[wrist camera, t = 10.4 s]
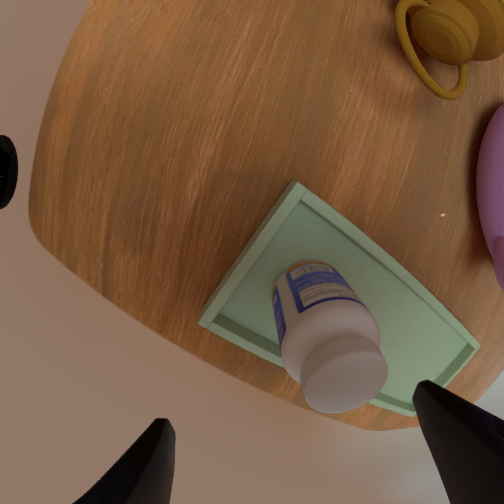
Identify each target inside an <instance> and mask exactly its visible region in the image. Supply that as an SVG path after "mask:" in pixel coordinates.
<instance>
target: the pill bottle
mask: <svg viewBox="0 0 504 504" xmlns="http://www.w3.org/2000/svg"><path fill="white" fill-rule="evenodd" d="M272 306H273V312H274V317H275V323H276V329H277V335H278V341H279V346H280V353H281V358H282V361H283V365H284V367H285V369H286V371H287V372H288V374H289V375H290V376H291V377H292V378H293V379H294V380H295V381H296V382H298V383H299V384H301V387H302V391H303V394H304V398H305V400H306V402H307V404H308V405H309V406H310V407H311V408H313V409H315V410H316V411H319V412H322V413H330V414H334V413H343V412H347V411H350V410H353V409H356V408H358V407H360V406H362V405H364V404H365V403H367V402H369V401H370V400H371V399H373V398H374V397H375V396H376V395H377V394H378V393H379V391H380V390H381V389H382V388H383V386H384V384H385V382H386V380H387V377H388V365H387V362H386V360H385V358H384V357H383V355H382V353H381V350H380V348H379V347H380V339H381V338H380V330H379V326H378V324H377V322H376V320H375V318H374V317H373V315H372V314H371V312H370V311H369V310H368V308H367V307H366V306H365V305H364V303H363V302H362V301H361V299H360V298H359V297H358V296H357V294H356V293H355V292H354V291H353V289H352V288H351V287H350V285H349V284H348V283H347V282H346V281H345V279H344V278H343V277H342V276H341V274H340V273H339V272H338V271H337V270H336V269H335V268H334V267H332V266H331V265H329V264H327V263H325V262H322V261H318V260H306V261H302V262H299V263H296V264H294V265H292V266H291V267H289V268H288V269H286V270H285V271H284V272H283V273H282V274H281V275H280V277H279V278H278V279H277V281H276V283H275V285H274V288H273V292H272Z"/></svg>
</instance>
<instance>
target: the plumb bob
mask: <svg viewBox="0 0 504 504" xmlns="http://www.w3.org/2000/svg"><path fill="white" fill-rule="evenodd" d="M406 12H408V14H409V16H410V18H411V19H412V20H411V30H412V33H413V35H414V37H415V39H416V41H417V42H418V44H419V45H420V46H421V47H422V48H423V49H424V50H425V51H426V52H427V53H428V54H430V55H431V56H432V57H434V58H436V59H437V60H439V61H441V62H444V63H447V64H450V65H458V66H459V78H458V83H457V85H456V87H455V88H454V89H452V90H445V89H443V88H442V87H440V86H439V85H438V84H436V83H435V82H434V81H433V80H432V78H431V77H430V76H429V75H428V73H427V72H426V71H425V69H424V67H423V66H422V64H421V63H420V61H419V59H418V57H417V55H416V53H415V51H414V49H413V47H412V44H411V42H410V39H409V36H408V33H407V28H406V22H405V16H406ZM394 20H395V28H396V32H397V36H398V39H399V42H400V44H401V47H402V49H403V52H404V54H405V56H406V58H407V60H408V62H409V63H410V65H411V67H412V68H413V70H414V71H415V73H416V74H417V76H418V77H419V78H420V80H421V81H422V82H423V83H424V84H425V85H426V87H427V88H428V89H429V90H431V91H432V92H433V93H434V94H435V95H437V96H439V97H441V98H443V99H446V100H454V99H457V98H459V97H460V96H461V95H462V94H463V92H464V90H465V87H466V83H467V65H466V63H467V62H468V61H469V60H474V61H486V60H491V59H494V58H496V57H498V56H500V55H501V54H502V53H503V52H504V0H401V1H400V2H399V3H398V4H397V6H396V8H395V13H394Z"/></svg>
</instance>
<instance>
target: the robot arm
mask: <svg viewBox="0 0 504 504" xmlns="http://www.w3.org/2000/svg"><path fill="white" fill-rule="evenodd" d="M10 163H11V156H10V155H9V154H8V153H7V152H6V151H5V150H3V149H2V148H1V147H0V200H1V195H2V191H3V187H4V183H5V180H6V176H7V173H8V169H9V166H10ZM412 401H413V404H414V407H415V410H416V414H417V417H418V420H419V423H420V426H421V429H422V432H423V435H424V437H425V440H426V442H427V444H428V447H429V449H430V451H431V454H432V456H433V459H434V461H435V464H436V466H437V468H438V471H439V474H440V476H441V479H442V482H443V484H444V487H445V490H446V493H447V496H448V498H449V501H450V504H504V420H502V419H500V418H498V417H496V416H494V415H493V414H491V413H489V412H487V411H485V410H483V409H481V408H479V407H478V406H476V405H474V404H472V403H470V402H468V401H467V400H465V399H463V398H461V397H459V396H457V395H456V394H454V393H452V392H450V391H448V390H447V389H445V388H443V387H441V386H439V385H438V384H436V383H434V382H432V381H430V380H428V379H426V380H423V381H420V382H419V383H418V384H417V386H416V388H415V391H414V394H413V397H412ZM174 464H175V431H174V429H173V427H172V425H171V423H170V422H169V420H168V419H166V418H156V419H155V420H154V421H153V422H152V423H151V425H150V426H149V427H148V428H147V429H146V430H145V431H144V432H143V433H142V435H141V436H140V437H139V438H138V439H137V440H136V441H135V442H134V443H133V444H132V445H131V447H130V448H129V449H128V450H127V451H126V452H125V453H124V454H123V455H122V456H121V457H120V459H119V460H118V461H117V462H116V463H115V464H114V465H113V466H112V467H111V468H110V469H109V470H108V471H107V472H106V473H105V474H104V475H103V476H102V477H101V478H100V480H98V481H97V482H96V483H95V485H93V486H92V487H91V488H90V489H89V490H88V491H87V492H86V493H85V494H84V495H83V496H81V497H80V498H79V499H78V500H76V501H75V502H74V503H72V504H169V503H170V495H171V489H172V482H173V476H174Z"/></svg>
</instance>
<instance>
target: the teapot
mask: <svg viewBox="0 0 504 504" xmlns="http://www.w3.org/2000/svg"><path fill="white" fill-rule="evenodd" d="M476 198H477V207H478V213H479V218H480V222H481V226H482V230H483V234H484V237H485V240H486V243H487V246H488V249H489V251H490V254H491V256H492V258H493V264H494V269H495V273H496V277H497V280H498V282H499V284H500V286H501V288H502V290H503V291H504V104H502V105H501V106H500V107H499V108H498V109H497V110H496V112H495V113H494V115H493V117H492V119H491V120H490V122H489V124H488V126H487V129H486V131H485V134H484V136H483V139H482V142H481V146H480V149H479V155H478V161H477V171H476Z"/></svg>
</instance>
